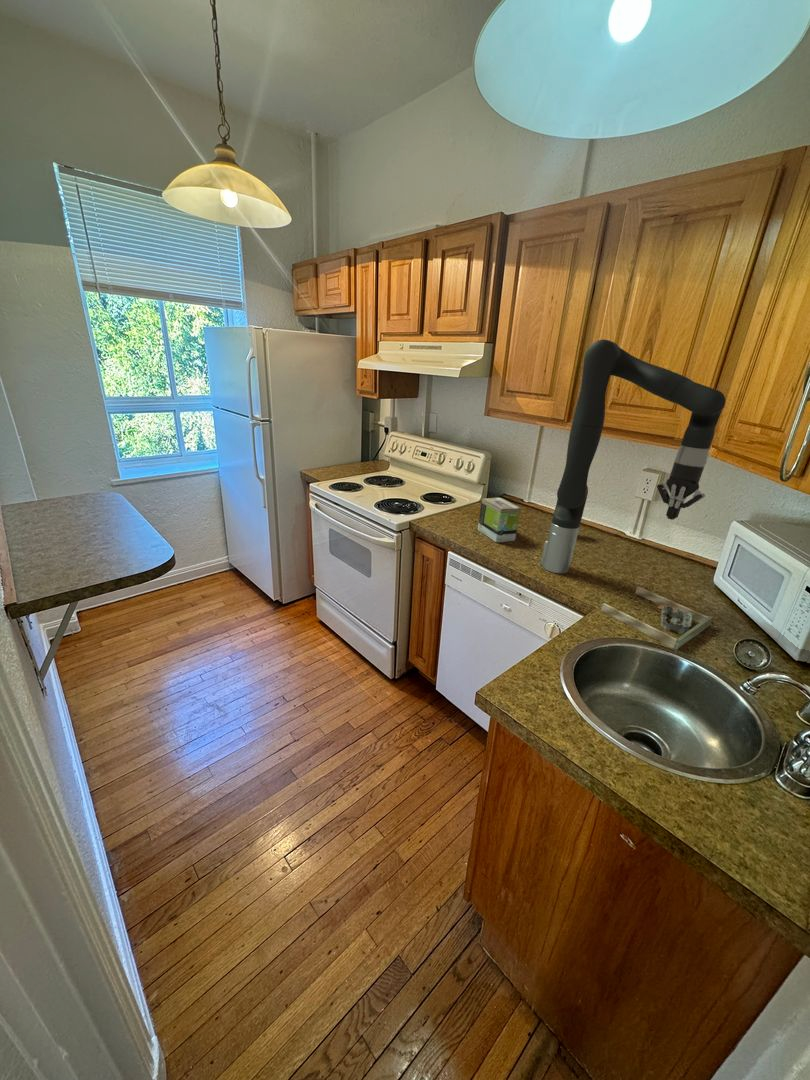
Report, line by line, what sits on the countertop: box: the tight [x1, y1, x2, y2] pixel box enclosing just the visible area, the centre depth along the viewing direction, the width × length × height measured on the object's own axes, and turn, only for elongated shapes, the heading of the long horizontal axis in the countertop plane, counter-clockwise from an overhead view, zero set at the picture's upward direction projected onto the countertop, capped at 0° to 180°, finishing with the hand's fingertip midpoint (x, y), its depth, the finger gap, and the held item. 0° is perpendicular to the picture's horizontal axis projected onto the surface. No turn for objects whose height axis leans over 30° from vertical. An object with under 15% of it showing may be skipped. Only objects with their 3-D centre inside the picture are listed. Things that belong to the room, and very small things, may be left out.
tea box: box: [477, 497, 522, 543], centre depth 177 cm, size 15×10×15 cm, turn 22°
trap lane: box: [600, 586, 713, 651], centre depth 125 cm, size 22×22×3 cm
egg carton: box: [660, 603, 693, 636], centre depth 123 cm, size 11×8×4 cm
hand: (671, 518), depth 128 cm, fingers closed
